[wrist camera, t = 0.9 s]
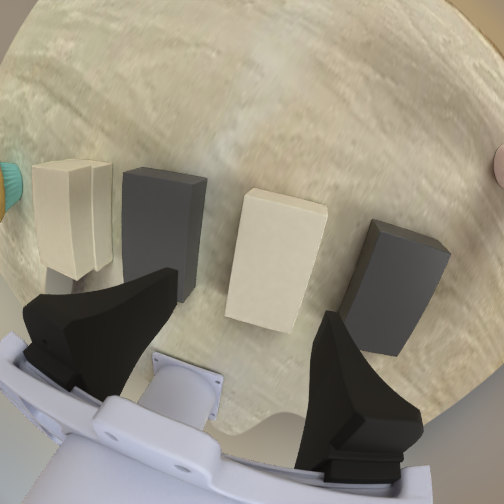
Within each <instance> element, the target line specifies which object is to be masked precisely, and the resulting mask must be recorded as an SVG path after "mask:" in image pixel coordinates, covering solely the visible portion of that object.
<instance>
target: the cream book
mask: <svg viewBox="0 0 504 504" xmlns="http://www.w3.org/2000/svg"><path fill="white" fill-rule="evenodd" d="M327 219H328V212H327V206H326V205H322V204H318V203H315V202H311V201H307V200H303V199H299V198H295V197H291V196H287V195H283V194H278V193H274V192H270V191H266V190H261V189H257V188H253V189H251V190H250V191H249V192H248V193H247V194H245V195H244V200H243V206H242V212H241V217H240V223H239V229H238V235H237V241H236V246H235V252H234V258H233V264H232V270H231V276H230V283H229V289H228V295H227V301H226V307H225V314H224V316H225V317H228V318H232V319H235V320H239V321H242V322H246V323H249V324H253V325H256V326H260V327H264V328H268V329H271V330H275V331H279V332H283V333H287V334H291V332H292V330H293V327H294V324H295V321H296V318H297V315H298V312H299V309H300V306H301V303H302V301H303V297H304V294H305V291H306V288H307V285H308V282H309V279H310V276H311V273H312V270H313V266H314V263H315V260H316V257H317V253H318V250H319V247H320V243H321V240H322V236H323V233H324V229H325V226H326V222H327Z"/></svg>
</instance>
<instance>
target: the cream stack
mask: <svg viewBox="0 0 504 504" xmlns="http://www.w3.org/2000/svg"><path fill="white" fill-rule="evenodd" d="M112 170H113V163H109V162H101V161H92V160H83V159H73V158H70V159H66V160H62V161H49V162H45V163H41V164H38V165H34V166H32V193H33V207H34V218H35V227H36V235H37V242H38V248H39V255H40V260H41V263H42V264H44V265H46V266H48V267H50V268H52V269H54V270H56V271H58V272H60V273H62V274H64V275H66V276H68V277H70V278H72V279H74V280H79V279H80V278H81V277H83V276H84V275H85V274H87V273H88V272H90V271H91V270H94V271H96V272H97V271H99V270H100V269H101V268H103V267H104V266H106V265H107V264H108V263H110V262H111V261H113V252H112V222H111V199H112Z"/></svg>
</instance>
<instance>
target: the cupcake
mask: <svg viewBox="0 0 504 504" xmlns="http://www.w3.org/2000/svg"><path fill="white" fill-rule="evenodd" d="M22 188H23V184H22V177H21V173H20V170H19V168H18V167H17V165H15V164H13V163H3V162H0V223H1V221H2V218H3V217H4V215H5V213H6V212H7V210H8V209H9V208H10V207H11V206H12V205H14V204H15V203H16V202H17V201H18V200H19V199H20V198H21V195H22Z"/></svg>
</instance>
